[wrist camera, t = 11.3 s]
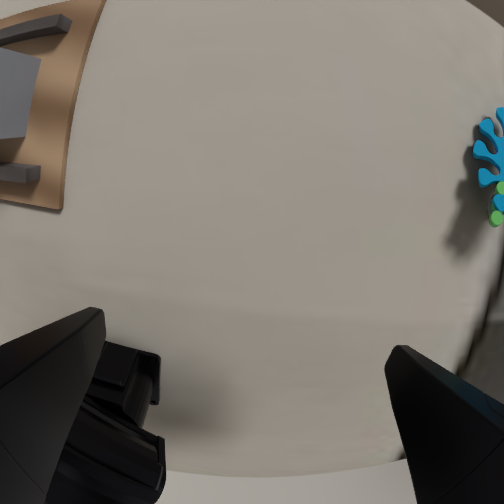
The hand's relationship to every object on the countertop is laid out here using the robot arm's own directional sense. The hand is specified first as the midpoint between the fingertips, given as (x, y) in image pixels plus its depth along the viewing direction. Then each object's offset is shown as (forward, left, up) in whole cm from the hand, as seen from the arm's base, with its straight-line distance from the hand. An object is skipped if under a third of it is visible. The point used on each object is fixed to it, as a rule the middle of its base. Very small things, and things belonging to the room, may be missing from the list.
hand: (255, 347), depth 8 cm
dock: (+7, +20, -12) cm, 24 cm away
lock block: (+7, +20, -11) cm, 24 cm away
